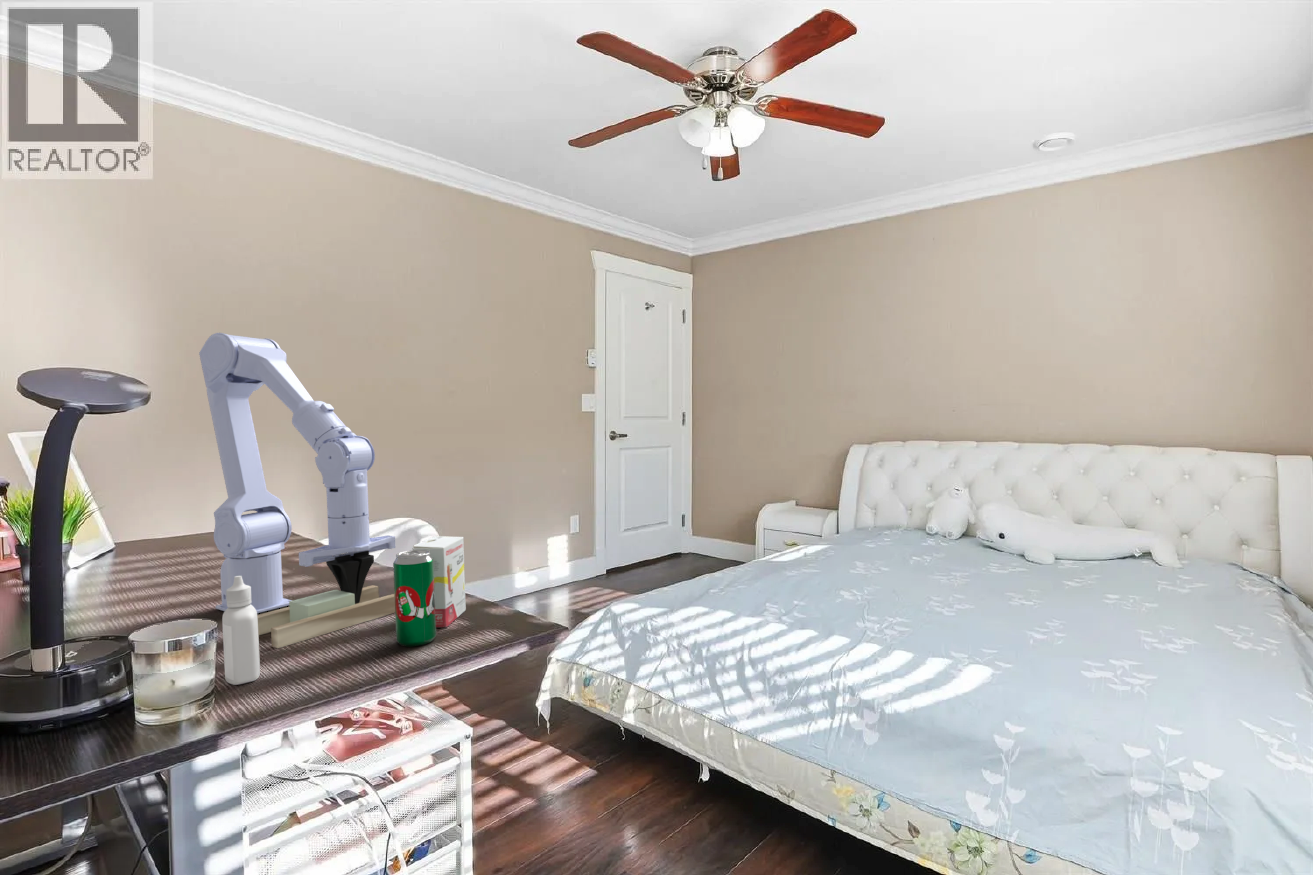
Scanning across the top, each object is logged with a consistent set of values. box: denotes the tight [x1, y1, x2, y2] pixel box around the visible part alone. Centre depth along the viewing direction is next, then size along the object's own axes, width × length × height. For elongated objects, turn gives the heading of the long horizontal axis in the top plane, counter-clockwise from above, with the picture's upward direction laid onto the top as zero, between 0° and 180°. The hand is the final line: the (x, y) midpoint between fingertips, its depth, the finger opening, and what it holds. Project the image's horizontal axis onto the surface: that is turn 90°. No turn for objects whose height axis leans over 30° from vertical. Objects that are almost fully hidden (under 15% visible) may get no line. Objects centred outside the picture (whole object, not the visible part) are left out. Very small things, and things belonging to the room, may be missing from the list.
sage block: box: [288, 589, 355, 623], centre depth 94 cm, size 5×7×4 cm
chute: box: [257, 584, 395, 649], centre depth 95 cm, size 10×20×2 cm, turn 147°
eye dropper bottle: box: [221, 576, 261, 686], centre depth 75 cm, size 4×6×12 cm
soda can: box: [392, 549, 437, 648], centre depth 86 cm, size 5×5×12 cm
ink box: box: [411, 535, 467, 628], centre depth 95 cm, size 9×5×12 cm, turn 177°
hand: (352, 602), depth 98 cm, fingers closed
